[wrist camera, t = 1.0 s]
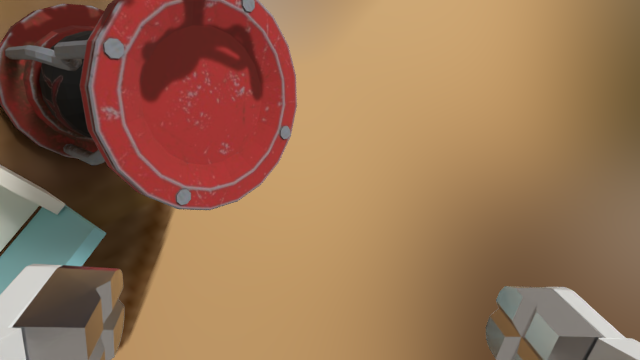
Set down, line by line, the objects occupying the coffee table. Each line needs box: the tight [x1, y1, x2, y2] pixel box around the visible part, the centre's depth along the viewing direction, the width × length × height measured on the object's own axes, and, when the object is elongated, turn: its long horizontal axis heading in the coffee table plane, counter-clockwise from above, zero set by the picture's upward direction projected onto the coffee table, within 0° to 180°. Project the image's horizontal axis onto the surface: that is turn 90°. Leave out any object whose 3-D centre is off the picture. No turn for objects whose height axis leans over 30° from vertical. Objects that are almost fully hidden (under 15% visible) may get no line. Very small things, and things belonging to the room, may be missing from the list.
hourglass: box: [0, 0, 297, 210], centre depth 36 cm, size 16×16×25 cm
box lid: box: [0, 205, 107, 294], centre depth 36 cm, size 2×17×12 cm, turn 132°
